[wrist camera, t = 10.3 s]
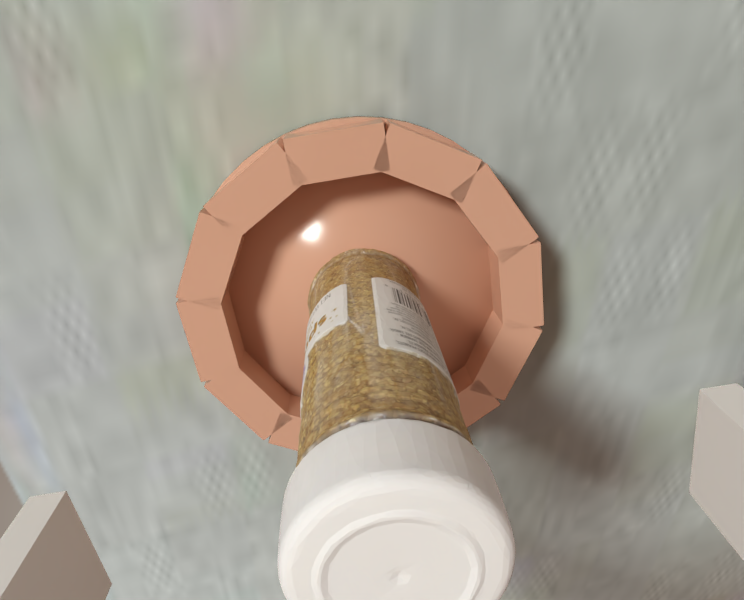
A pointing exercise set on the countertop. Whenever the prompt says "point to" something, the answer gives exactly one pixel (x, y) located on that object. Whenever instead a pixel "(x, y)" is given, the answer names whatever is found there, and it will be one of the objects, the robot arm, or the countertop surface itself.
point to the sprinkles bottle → (385, 454)
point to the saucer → (357, 231)
